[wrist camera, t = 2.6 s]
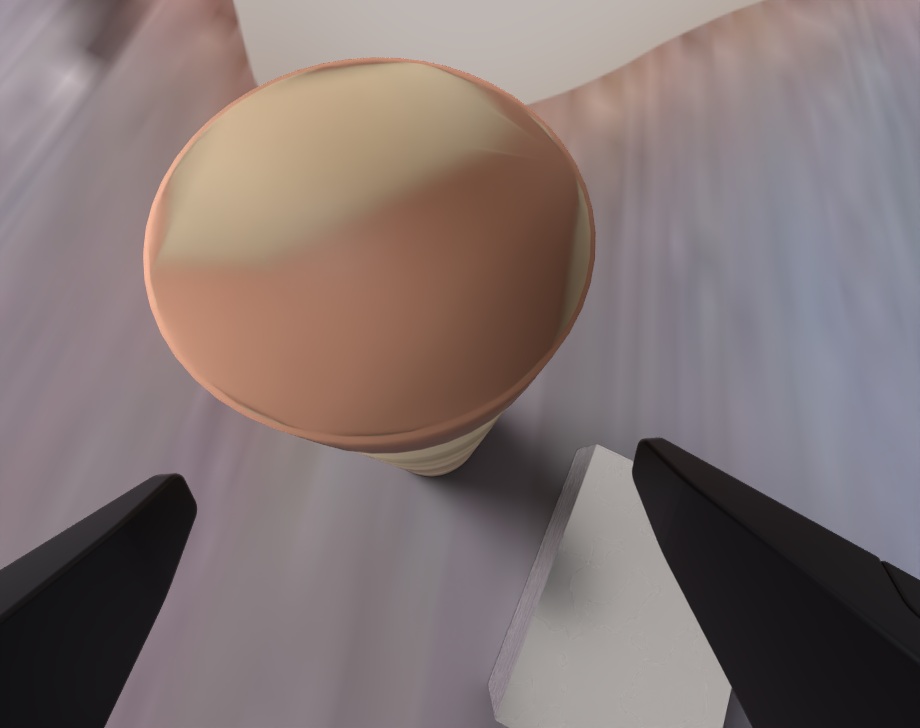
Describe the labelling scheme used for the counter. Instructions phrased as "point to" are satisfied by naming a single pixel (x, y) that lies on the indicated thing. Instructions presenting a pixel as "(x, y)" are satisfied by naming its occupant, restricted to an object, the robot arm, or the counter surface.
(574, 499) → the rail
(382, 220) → the peg
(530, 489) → the counter surface
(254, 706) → the counter surface
